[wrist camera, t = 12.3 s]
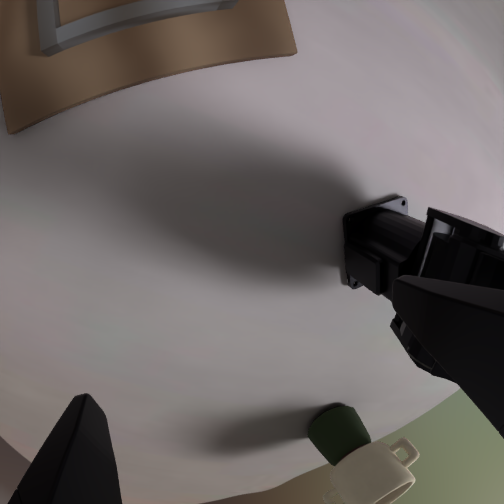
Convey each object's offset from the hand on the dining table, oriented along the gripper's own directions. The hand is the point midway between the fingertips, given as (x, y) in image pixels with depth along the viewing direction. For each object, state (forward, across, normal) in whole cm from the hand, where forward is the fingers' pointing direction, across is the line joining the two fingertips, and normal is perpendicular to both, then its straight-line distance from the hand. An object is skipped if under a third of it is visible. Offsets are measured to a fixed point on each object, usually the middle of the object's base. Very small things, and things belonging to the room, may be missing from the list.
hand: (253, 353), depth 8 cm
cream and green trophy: (+13, -8, +27) cm, 31 cm away
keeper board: (+13, 0, -18) cm, 22 cm away
